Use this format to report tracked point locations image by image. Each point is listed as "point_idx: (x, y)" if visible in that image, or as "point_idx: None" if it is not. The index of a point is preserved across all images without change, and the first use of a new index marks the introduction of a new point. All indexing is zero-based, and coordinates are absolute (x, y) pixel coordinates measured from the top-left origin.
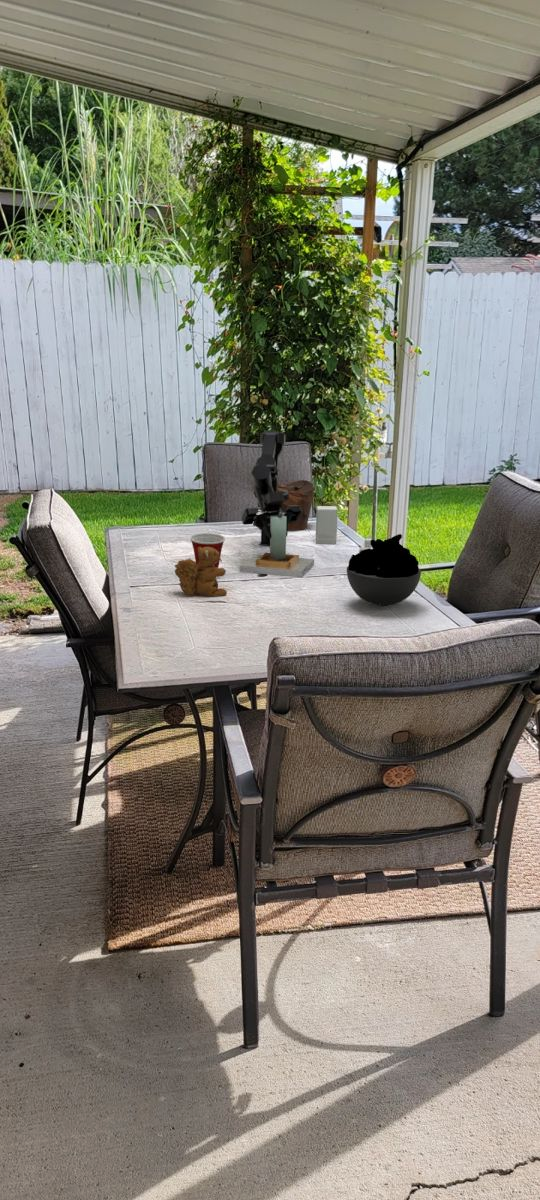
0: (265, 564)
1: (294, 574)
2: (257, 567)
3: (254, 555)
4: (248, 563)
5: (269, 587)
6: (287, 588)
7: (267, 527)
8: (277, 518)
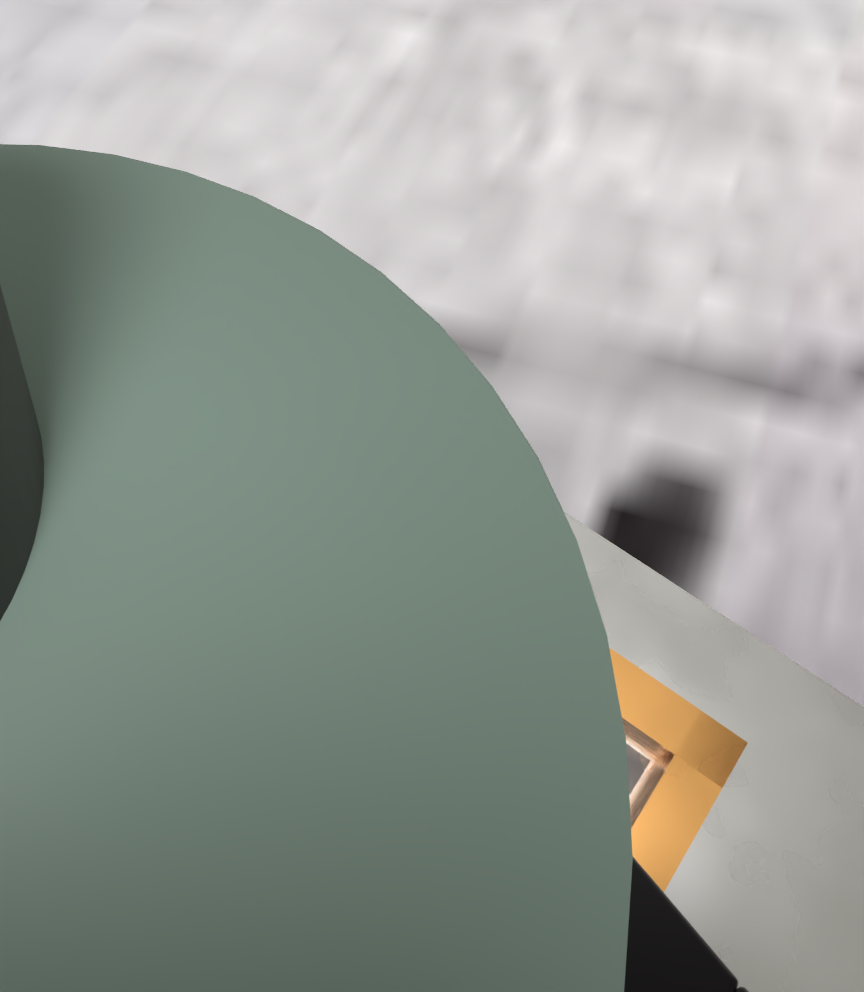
0: None
1: None
2: (722, 618)
3: None
4: (823, 871)
5: (699, 122)
6: (550, 65)
7: (640, 964)
8: (252, 218)
